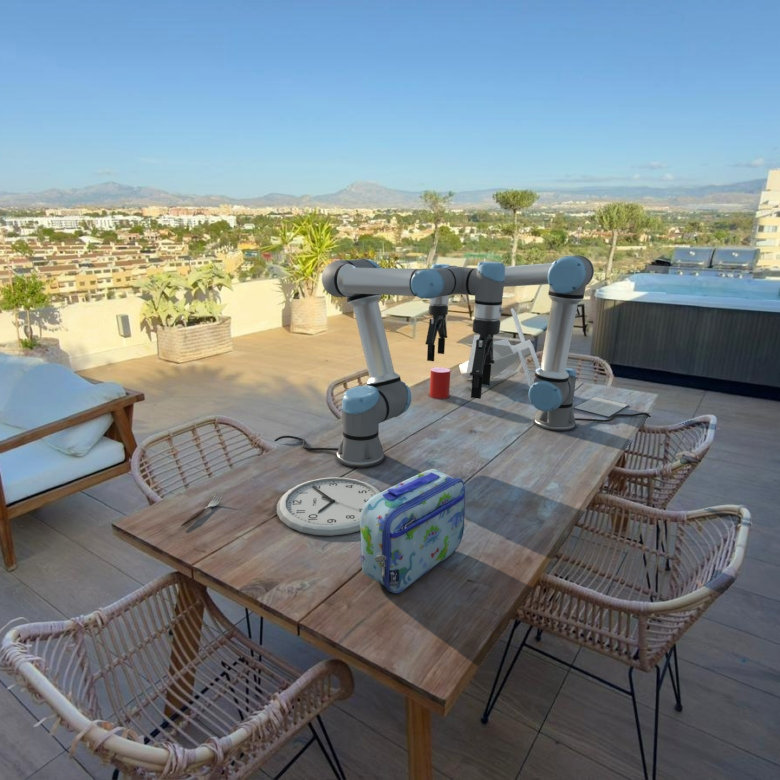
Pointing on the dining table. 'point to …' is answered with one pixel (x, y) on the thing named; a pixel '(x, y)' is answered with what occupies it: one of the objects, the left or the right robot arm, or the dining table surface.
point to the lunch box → (411, 528)
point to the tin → (439, 383)
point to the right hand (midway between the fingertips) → (435, 357)
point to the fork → (211, 504)
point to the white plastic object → (504, 354)
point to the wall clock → (325, 506)
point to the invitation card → (601, 406)
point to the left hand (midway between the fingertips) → (480, 391)
